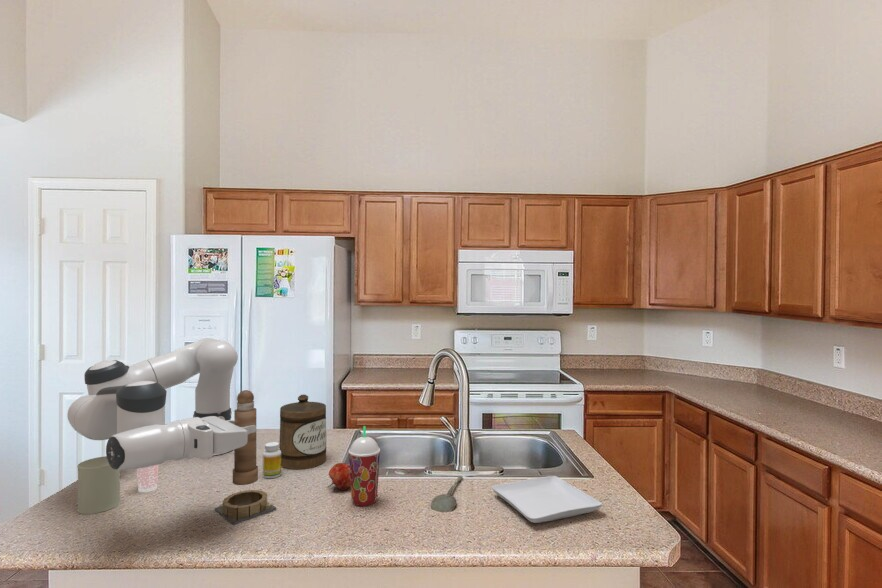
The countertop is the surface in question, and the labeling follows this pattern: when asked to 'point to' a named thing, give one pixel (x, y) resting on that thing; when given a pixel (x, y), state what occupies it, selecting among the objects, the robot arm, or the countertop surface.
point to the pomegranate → (340, 475)
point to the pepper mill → (246, 455)
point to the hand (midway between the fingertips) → (249, 425)
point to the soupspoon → (445, 500)
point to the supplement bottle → (271, 460)
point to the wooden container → (302, 434)
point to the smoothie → (364, 470)
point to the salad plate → (546, 498)
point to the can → (97, 486)
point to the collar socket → (244, 506)
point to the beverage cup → (147, 478)
